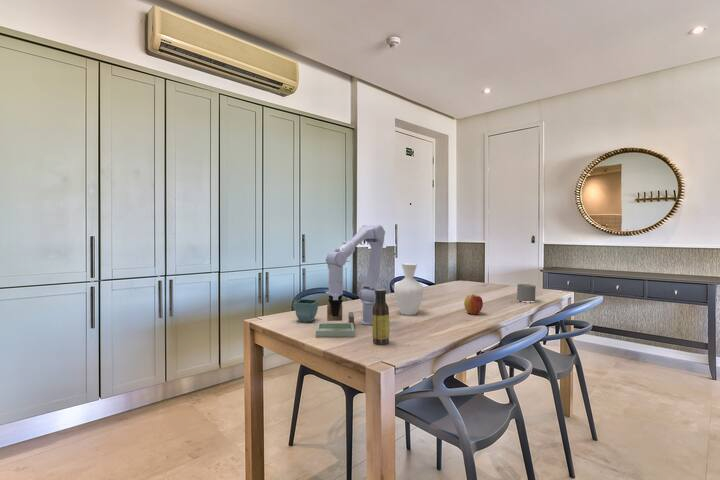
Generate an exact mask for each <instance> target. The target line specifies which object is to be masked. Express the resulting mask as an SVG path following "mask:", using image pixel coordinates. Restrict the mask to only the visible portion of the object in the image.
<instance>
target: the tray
mask: <svg viewBox="0 0 720 480" xmlns="http://www.w3.org/2000/svg"><path fill="white" fill-rule="evenodd" d="M315 338H355V325H354V326H353V323H348V322H317V323H316V328H315Z"/></svg>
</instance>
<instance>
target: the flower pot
mask: <svg viewBox="0 0 720 480" xmlns="http://www.w3.org/2000/svg"><path fill="white" fill-rule="evenodd" d="M319 301H320V300H318V299H304V298H303V299H299V300H296V301H295V302H294V308H295V310H294V312H295V315H296V317H297V319H298V321H299V322H304V323H305V322H306V323H310V322H311V323H312V321H314V319H315V317H316V315H317V313H318V308H319V303H320V302H319Z"/></svg>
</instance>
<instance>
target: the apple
mask: <svg viewBox="0 0 720 480" xmlns="http://www.w3.org/2000/svg"><path fill="white" fill-rule="evenodd" d="M483 301H484V300H483V298H482V297H481V296H480V295H478V294H471V295H470V294H469V295H467V296H466V297H465V299H464V301H463V302H464V303H463V305H464V309H465V311H466V313H467V314H469V313H470V314H469V315H478V314H480V313H481V311H482V308H483V305H484V302H483Z"/></svg>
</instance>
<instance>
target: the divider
mask: <svg viewBox="0 0 720 480" xmlns="http://www.w3.org/2000/svg"><path fill="white" fill-rule="evenodd" d="M347 323H353V326H354V327H355V315H354V312H353V311H348V322H347Z"/></svg>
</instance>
